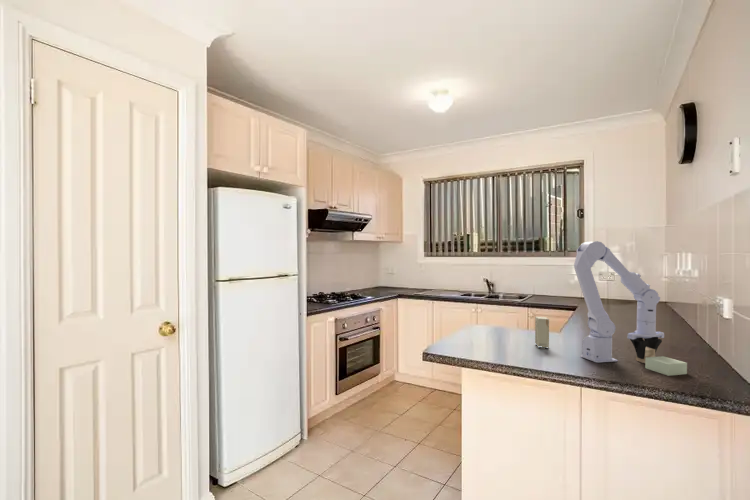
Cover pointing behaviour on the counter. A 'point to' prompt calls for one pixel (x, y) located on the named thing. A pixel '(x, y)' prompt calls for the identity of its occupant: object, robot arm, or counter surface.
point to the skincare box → (542, 331)
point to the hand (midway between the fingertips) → (645, 357)
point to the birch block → (647, 354)
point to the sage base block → (666, 365)
